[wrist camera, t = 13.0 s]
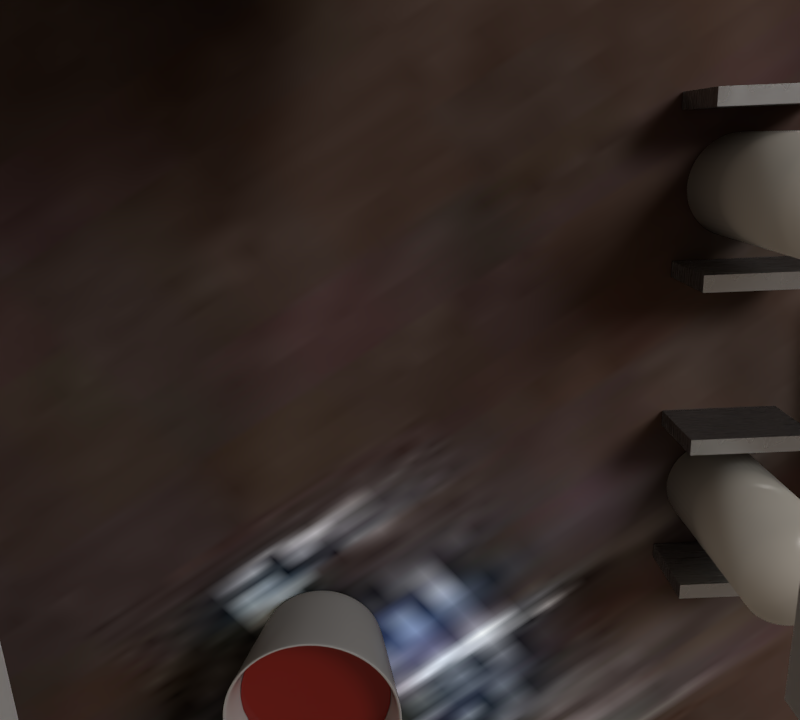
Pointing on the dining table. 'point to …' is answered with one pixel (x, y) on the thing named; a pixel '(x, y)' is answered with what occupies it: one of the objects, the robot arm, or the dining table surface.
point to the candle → (316, 665)
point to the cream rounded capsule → (743, 527)
